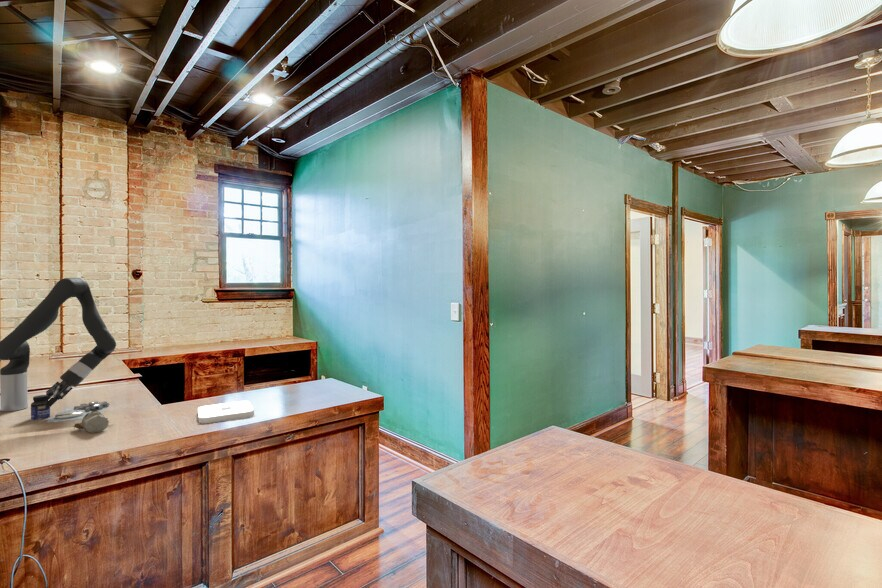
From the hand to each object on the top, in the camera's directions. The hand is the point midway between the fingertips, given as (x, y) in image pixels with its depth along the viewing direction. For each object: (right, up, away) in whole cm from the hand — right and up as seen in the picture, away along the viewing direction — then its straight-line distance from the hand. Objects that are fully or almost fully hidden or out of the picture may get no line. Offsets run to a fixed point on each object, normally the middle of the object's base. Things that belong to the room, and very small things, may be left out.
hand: (43, 404), depth 186 cm
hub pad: (+9, -5, +3) cm, 11 cm away
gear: (+9, -5, +14) cm, 18 cm away
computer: (+75, -7, +10) cm, 75 cm away
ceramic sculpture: (+32, -7, -12) cm, 35 cm away
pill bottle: (-1, -7, -1) cm, 7 cm away
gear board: (+10, -7, +7) cm, 14 cm away
